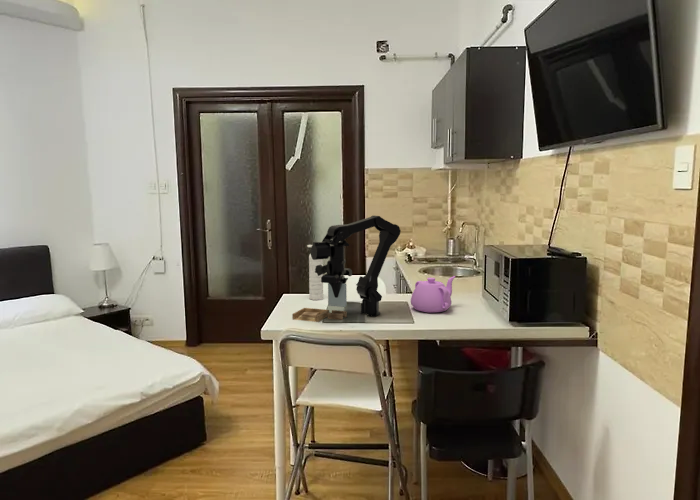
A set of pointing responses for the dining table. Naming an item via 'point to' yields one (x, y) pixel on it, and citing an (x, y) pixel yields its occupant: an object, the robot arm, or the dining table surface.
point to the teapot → (432, 295)
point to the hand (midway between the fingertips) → (337, 296)
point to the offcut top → (310, 314)
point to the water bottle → (315, 279)
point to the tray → (322, 312)
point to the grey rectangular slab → (340, 300)
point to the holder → (337, 315)
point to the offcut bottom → (307, 318)
